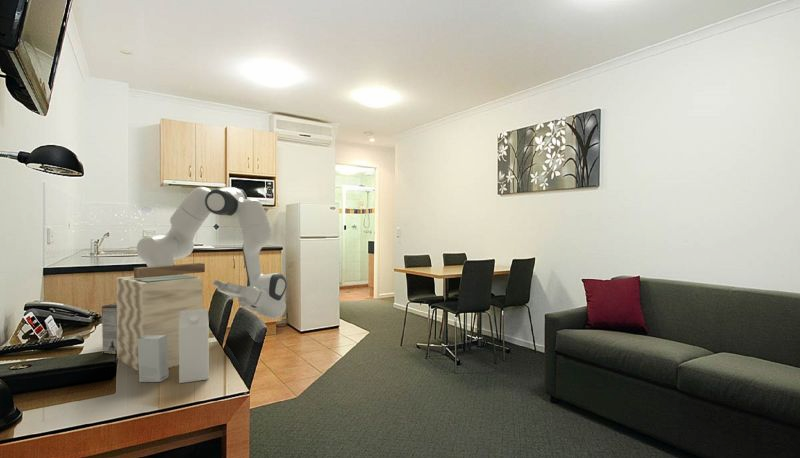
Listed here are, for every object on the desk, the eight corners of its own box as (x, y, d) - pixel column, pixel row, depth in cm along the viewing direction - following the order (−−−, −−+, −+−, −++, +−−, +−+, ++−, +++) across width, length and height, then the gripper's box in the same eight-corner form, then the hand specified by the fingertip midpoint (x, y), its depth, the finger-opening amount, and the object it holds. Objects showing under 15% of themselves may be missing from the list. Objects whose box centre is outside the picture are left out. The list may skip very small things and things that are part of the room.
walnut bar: (134, 277, 134) (133, 267, 134) (199, 271, 150) (199, 263, 150) (138, 278, 131) (138, 268, 131) (204, 272, 148) (204, 263, 148)
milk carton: (181, 375, 118) (180, 308, 118) (208, 371, 121) (208, 306, 121) (179, 383, 112) (178, 313, 111) (208, 380, 114) (207, 311, 114)
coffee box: (125, 346, 147) (124, 300, 147) (140, 347, 145) (140, 301, 145) (101, 354, 138) (101, 305, 138) (117, 355, 136) (117, 306, 136)
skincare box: (169, 377, 117) (168, 334, 117) (159, 383, 112) (159, 338, 112) (147, 377, 117) (147, 334, 117) (137, 383, 112) (136, 338, 112)
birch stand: (117, 358, 133) (116, 276, 133) (173, 346, 146) (172, 271, 146) (143, 374, 119) (142, 282, 119) (202, 359, 132) (202, 276, 132)
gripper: (239, 287, 171) (211, 273, 162) (268, 292, 158) (239, 277, 149) (232, 301, 169) (203, 288, 160) (261, 308, 156) (230, 293, 147)
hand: (220, 283), depth 154 cm, fingers open, 8 cm apart
